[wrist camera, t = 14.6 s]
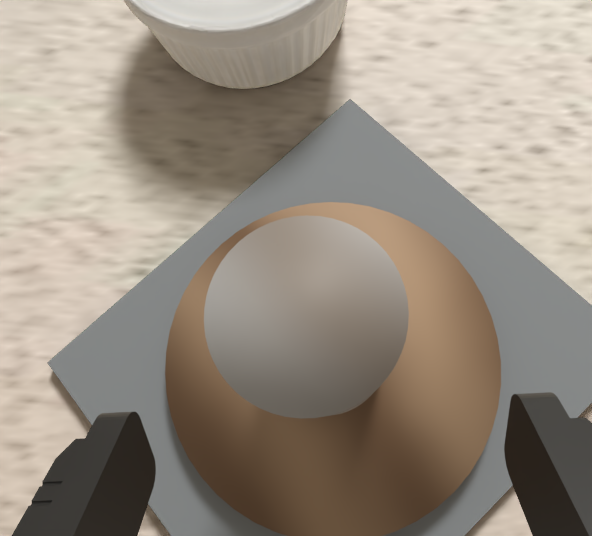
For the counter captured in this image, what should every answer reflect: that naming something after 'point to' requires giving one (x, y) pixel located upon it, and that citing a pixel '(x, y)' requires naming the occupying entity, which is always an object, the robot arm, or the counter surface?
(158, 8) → the ramekin
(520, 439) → the robot arm
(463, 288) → the lid
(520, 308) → the mat
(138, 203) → the counter surface
